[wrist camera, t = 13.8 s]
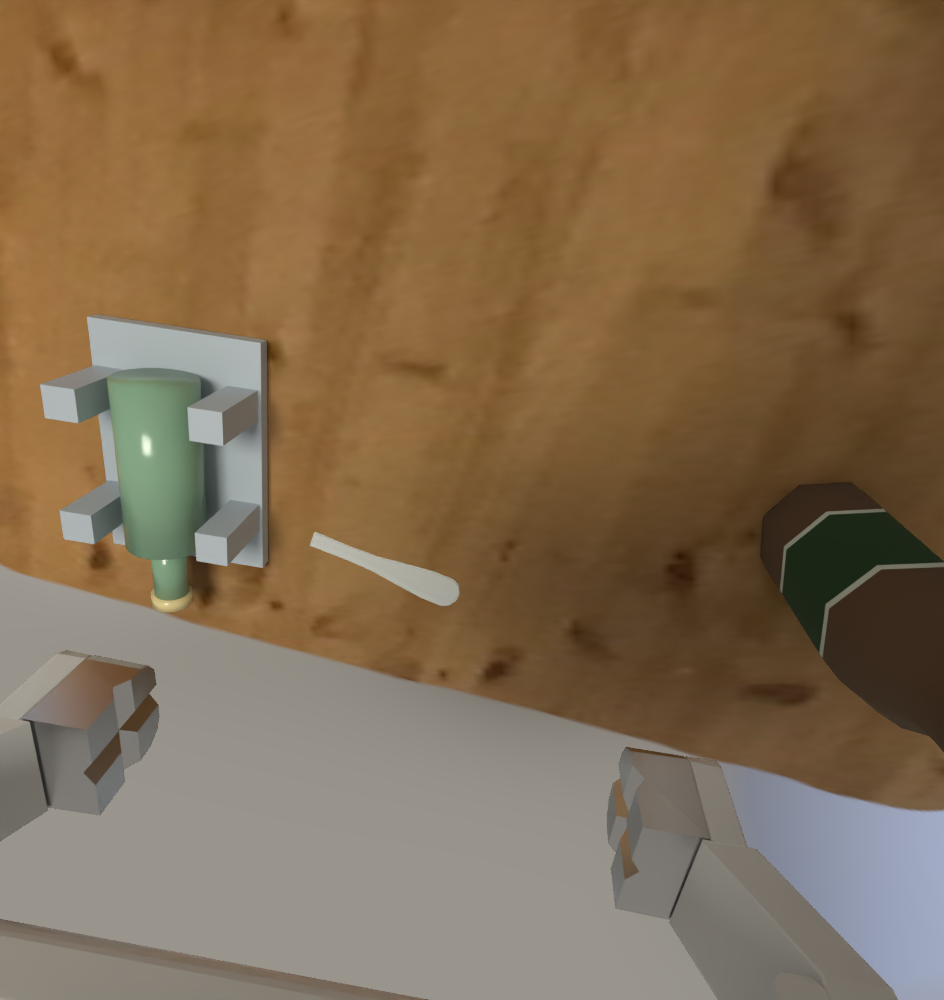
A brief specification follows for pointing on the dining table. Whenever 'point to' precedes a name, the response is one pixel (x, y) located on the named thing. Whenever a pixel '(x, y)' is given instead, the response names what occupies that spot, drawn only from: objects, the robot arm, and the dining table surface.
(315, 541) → the butter knife
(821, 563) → the beer bottle
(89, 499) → the rest
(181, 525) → the bottle
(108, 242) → the dining table surface
